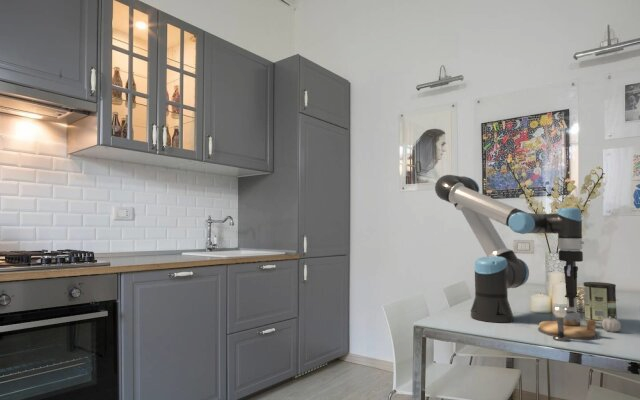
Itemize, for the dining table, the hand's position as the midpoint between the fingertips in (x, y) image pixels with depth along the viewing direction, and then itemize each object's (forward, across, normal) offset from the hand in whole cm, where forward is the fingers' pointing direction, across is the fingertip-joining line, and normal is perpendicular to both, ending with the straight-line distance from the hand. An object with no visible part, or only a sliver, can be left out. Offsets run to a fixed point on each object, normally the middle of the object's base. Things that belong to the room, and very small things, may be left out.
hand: (572, 315), depth 148 cm
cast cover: (+1, -9, 0) cm, 9 cm away
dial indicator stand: (+4, -23, 0) cm, 23 cm away
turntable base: (+4, -13, 0) cm, 14 cm away
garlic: (+4, 0, -12) cm, 12 cm away
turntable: (+4, -13, 0) cm, 14 cm away
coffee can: (+4, +17, -7) cm, 18 cm away
